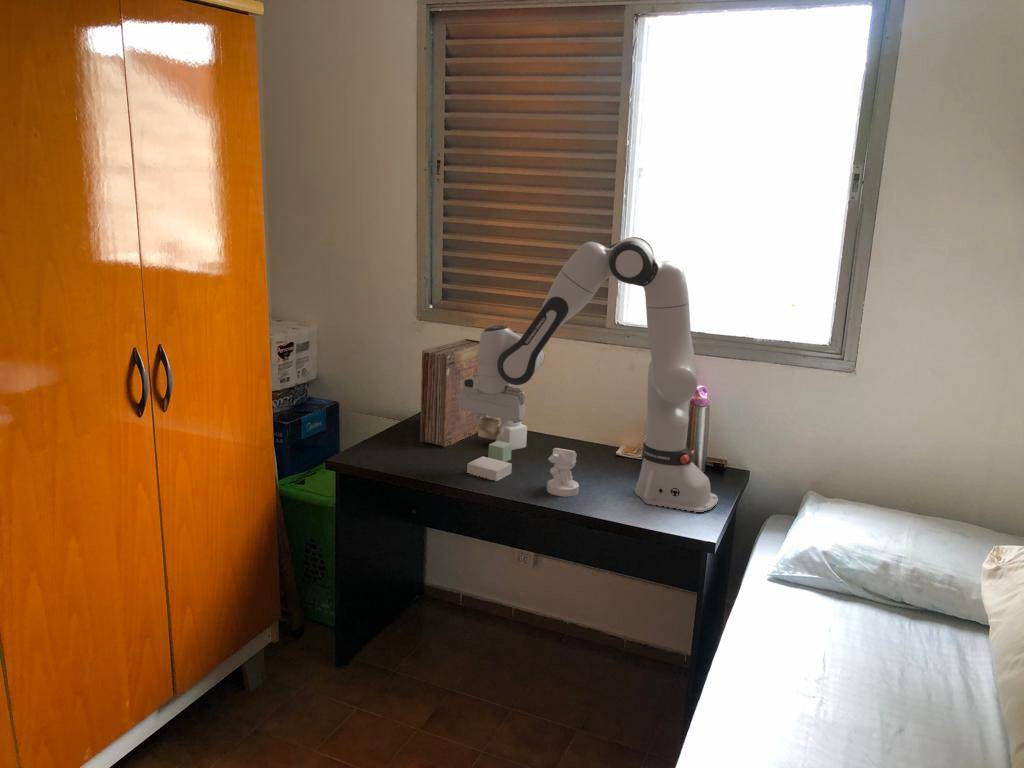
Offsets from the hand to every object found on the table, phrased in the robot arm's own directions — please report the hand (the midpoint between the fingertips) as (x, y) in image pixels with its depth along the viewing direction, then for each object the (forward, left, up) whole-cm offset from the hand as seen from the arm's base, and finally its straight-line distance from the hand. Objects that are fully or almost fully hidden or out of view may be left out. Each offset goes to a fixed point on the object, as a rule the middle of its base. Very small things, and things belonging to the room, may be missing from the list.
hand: (490, 430), depth 231 cm
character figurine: (-23, -2, -13) cm, 27 cm away
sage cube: (+4, -12, -13) cm, 18 cm away
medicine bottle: (+8, -25, -13) cm, 29 cm away
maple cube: (0, 0, -2) cm, 2 cm away
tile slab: (0, 0, -13) cm, 13 cm away
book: (+28, -22, -13) cm, 38 cm away
